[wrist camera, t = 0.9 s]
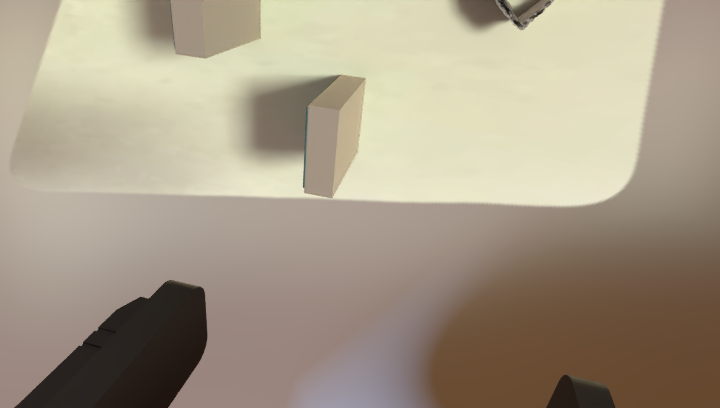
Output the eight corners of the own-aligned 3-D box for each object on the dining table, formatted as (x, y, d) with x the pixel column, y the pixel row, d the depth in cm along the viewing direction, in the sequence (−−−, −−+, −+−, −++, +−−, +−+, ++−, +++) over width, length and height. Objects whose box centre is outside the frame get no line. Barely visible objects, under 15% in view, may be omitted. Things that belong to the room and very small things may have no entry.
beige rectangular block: (338, 74, 28) (305, 104, 22) (365, 78, 28) (339, 110, 22) (333, 147, 31) (301, 192, 24) (357, 151, 30) (332, 198, 24)
